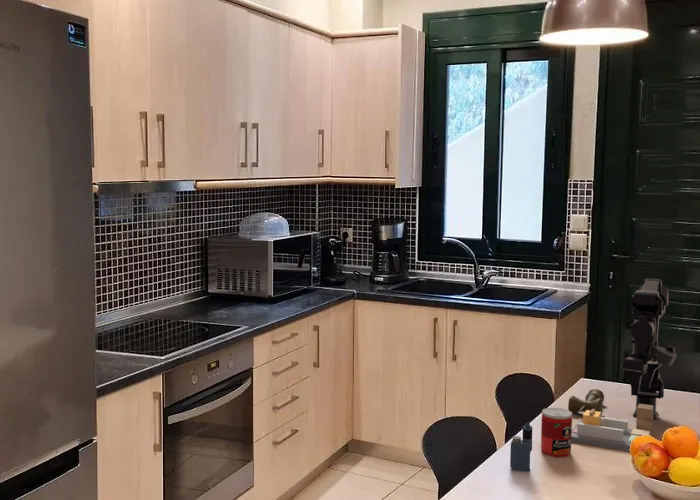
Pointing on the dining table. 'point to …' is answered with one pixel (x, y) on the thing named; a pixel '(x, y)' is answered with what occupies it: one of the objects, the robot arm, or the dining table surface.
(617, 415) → the dining table surface
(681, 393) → the dining table surface
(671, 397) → the dining table surface
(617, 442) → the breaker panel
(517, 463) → the vaping device
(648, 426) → the walnut block
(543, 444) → the canned food
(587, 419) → the knob
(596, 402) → the kendama
